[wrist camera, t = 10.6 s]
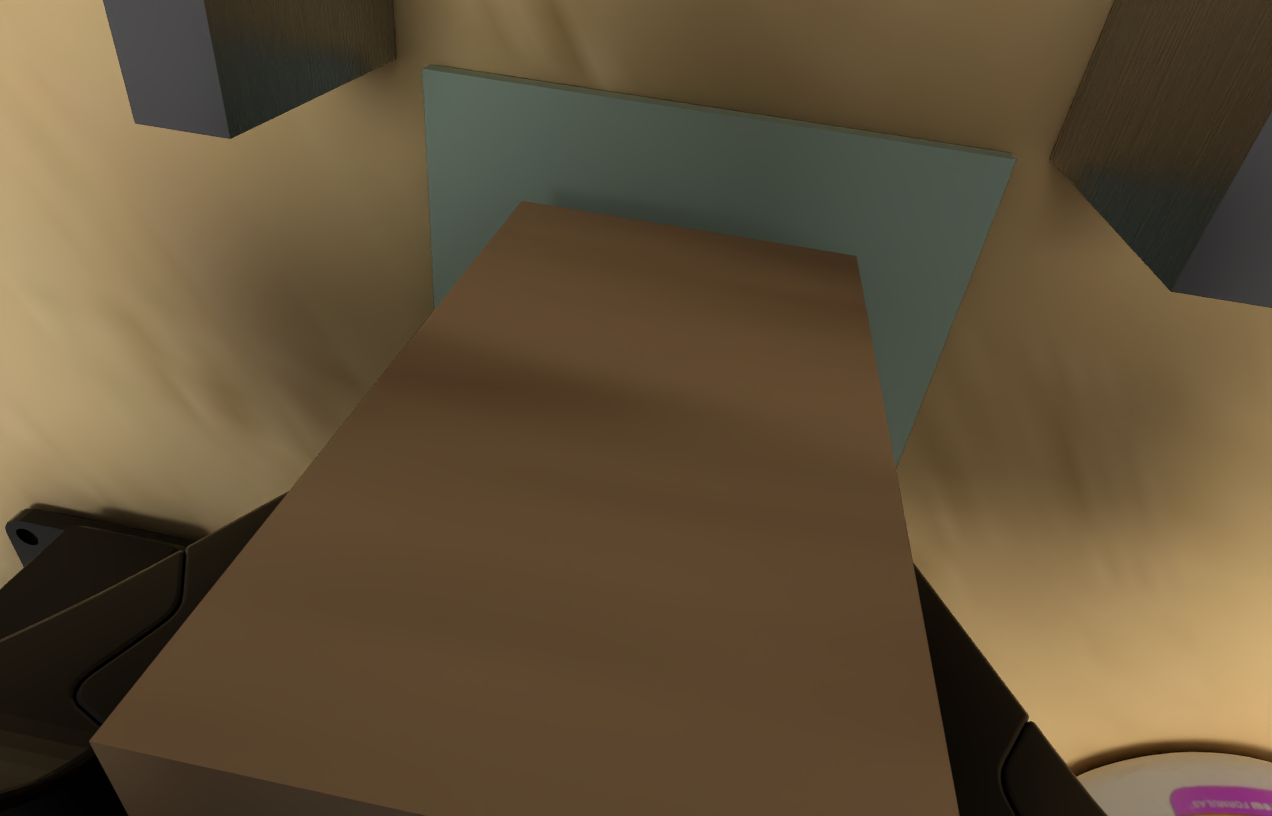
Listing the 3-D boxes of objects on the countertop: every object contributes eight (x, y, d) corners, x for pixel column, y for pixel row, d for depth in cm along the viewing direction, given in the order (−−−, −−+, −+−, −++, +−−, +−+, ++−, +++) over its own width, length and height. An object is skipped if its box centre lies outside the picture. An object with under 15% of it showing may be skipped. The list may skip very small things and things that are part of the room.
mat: (865, 531, 14) (866, 542, 14) (447, 452, 15) (441, 462, 15) (1011, 153, 10) (1016, 159, 10) (429, 63, 11) (422, 69, 11)
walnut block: (782, 508, 13) (778, 1170, 6) (515, 458, 13) (248, 1040, 7) (856, 255, 10) (981, 936, 4) (522, 201, 10) (90, 741, 4)
